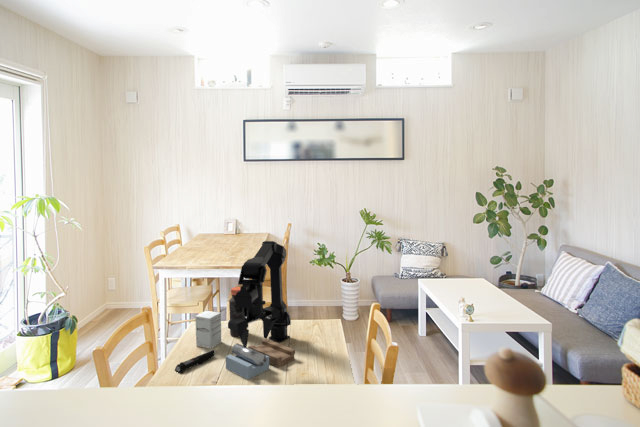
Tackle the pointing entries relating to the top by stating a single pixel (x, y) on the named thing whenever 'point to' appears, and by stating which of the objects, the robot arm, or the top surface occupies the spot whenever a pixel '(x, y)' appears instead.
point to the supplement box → (208, 329)
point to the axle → (249, 354)
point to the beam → (275, 352)
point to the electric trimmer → (194, 361)
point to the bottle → (231, 302)
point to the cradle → (245, 366)
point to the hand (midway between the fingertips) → (255, 342)
